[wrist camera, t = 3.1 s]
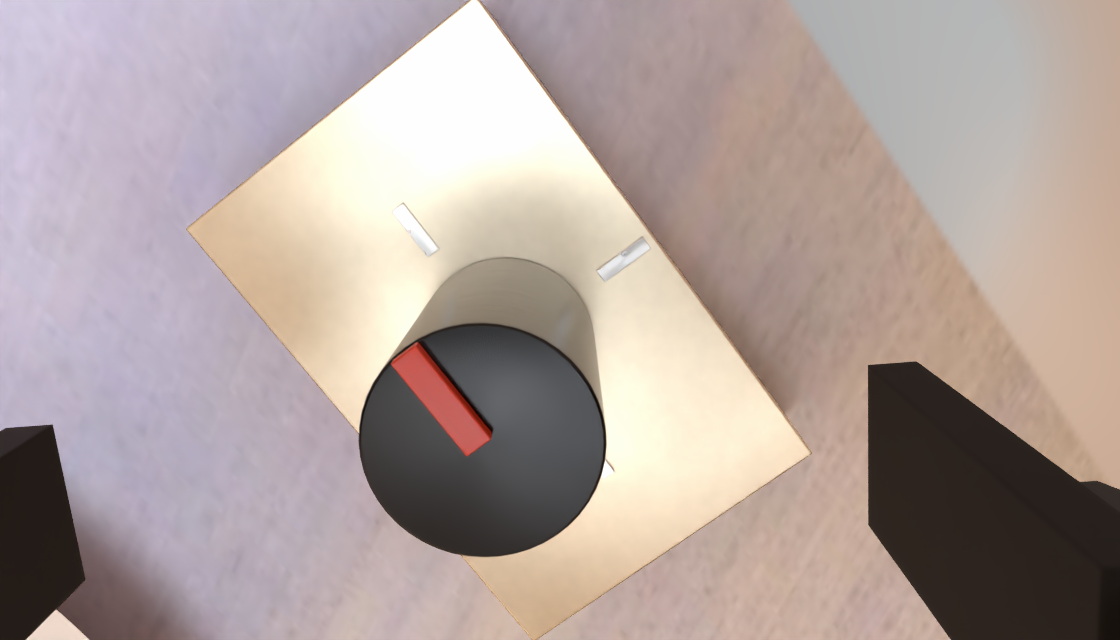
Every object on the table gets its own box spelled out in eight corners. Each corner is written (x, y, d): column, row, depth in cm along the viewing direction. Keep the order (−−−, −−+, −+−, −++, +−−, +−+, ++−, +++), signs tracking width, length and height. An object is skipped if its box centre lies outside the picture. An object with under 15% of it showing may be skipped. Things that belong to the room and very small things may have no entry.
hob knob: (629, 361, 24) (658, 474, 16) (491, 461, 24) (460, 611, 17) (523, 221, 23) (503, 276, 16) (382, 328, 23) (302, 426, 16)
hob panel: (785, 415, 27) (814, 456, 24) (537, 586, 28) (533, 645, 25) (486, 7, 25) (474, -7, 21) (227, 214, 26) (182, 229, 23)
